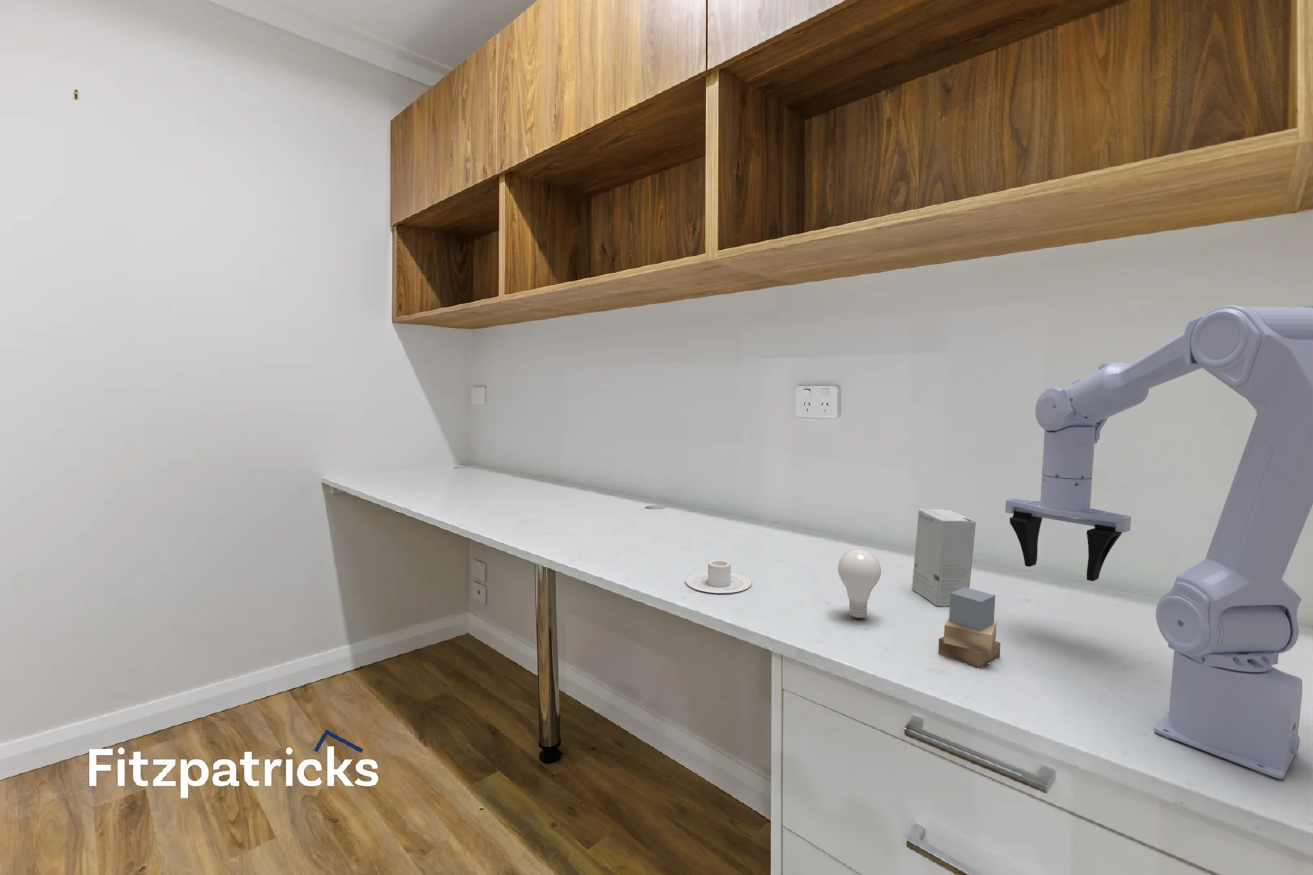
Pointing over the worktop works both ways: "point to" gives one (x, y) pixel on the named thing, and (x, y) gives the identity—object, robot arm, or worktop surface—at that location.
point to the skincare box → (942, 554)
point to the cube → (972, 609)
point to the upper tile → (970, 637)
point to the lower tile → (968, 654)
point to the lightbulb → (859, 579)
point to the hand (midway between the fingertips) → (1060, 572)
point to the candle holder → (719, 577)
